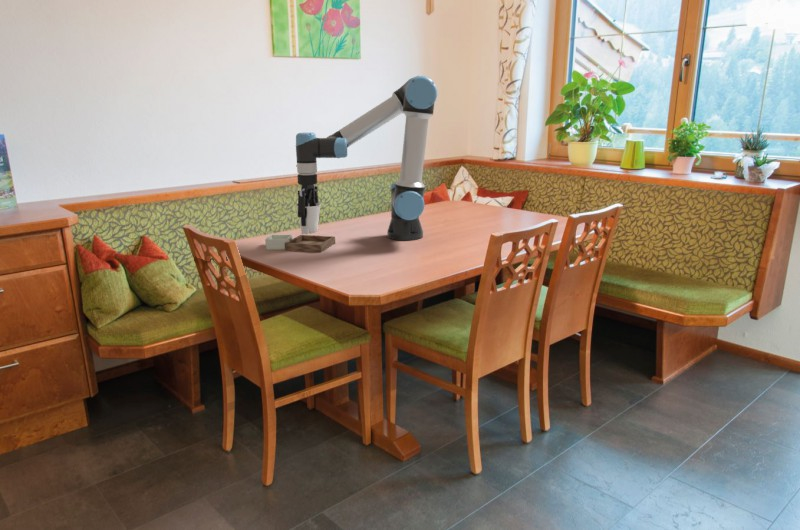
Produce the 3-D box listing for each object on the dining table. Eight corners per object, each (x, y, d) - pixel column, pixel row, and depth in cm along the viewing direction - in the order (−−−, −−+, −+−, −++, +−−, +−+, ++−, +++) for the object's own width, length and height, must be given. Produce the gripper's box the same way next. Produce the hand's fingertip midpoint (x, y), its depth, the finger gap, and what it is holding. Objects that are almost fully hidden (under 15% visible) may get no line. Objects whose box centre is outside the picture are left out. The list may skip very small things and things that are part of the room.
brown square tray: (335, 243, 245) (334, 236, 245) (321, 252, 232) (320, 245, 231) (301, 241, 249) (300, 234, 249) (285, 250, 235) (284, 243, 235)
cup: (317, 235, 233) (316, 207, 230) (293, 234, 235) (291, 206, 232) (325, 230, 243) (324, 202, 240) (302, 229, 244) (300, 202, 242)
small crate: (293, 243, 245) (292, 234, 244) (289, 249, 236) (288, 239, 235) (270, 244, 245) (270, 234, 244) (266, 249, 236) (265, 239, 235)
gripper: (309, 170, 243) (311, 225, 249) (286, 176, 224) (289, 236, 230) (326, 170, 241) (328, 226, 248) (305, 177, 222) (307, 237, 228)
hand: (309, 231), depth 239 cm, fingers closed on cup, 8 cm apart
